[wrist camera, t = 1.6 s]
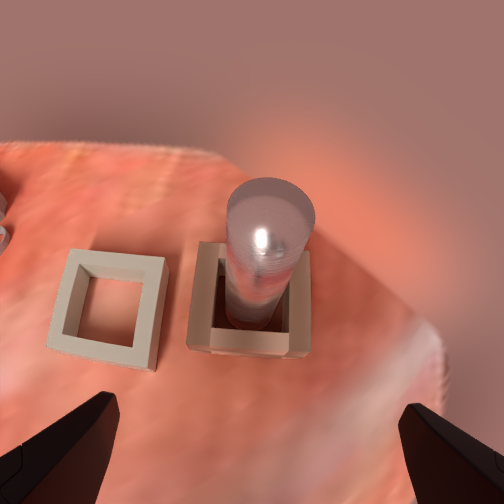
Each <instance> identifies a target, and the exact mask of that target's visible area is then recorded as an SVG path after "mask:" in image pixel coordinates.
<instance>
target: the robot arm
mask: <svg viewBox="0 0 504 504" xmlns="http://www.w3.org/2000/svg"><path fill="white" fill-rule="evenodd" d="M119 418H120V412H119V407H118V403H117V399H116V395H115V394H114V393H110V392H106V391H101V392H99V393H98V394H96V395H95V396H93V397H92V398H91V399H89V400H88V401H86V402H85V403H83V404H82V405H80V406H79V407H77V408H76V409H74V410H73V411H71V412H70V413H68V414H67V415H65V416H64V417H62V418H61V419H59V420H58V421H56V422H55V423H53V424H52V425H50V426H49V427H47V428H45V429H44V430H42V431H41V432H39V433H38V434H36V435H35V436H33V437H32V438H30V439H29V440H27V441H25V442H24V443H22V446H21V445H19V446H17V447H16V448H14V449H13V450H11V451H9V452H8V453H6V454H4V455H3V456H1V457H0V504H95V502H96V499H97V496H98V493H99V490H100V487H101V484H102V482H103V479H104V476H105V473H106V470H107V467H108V464H109V461H110V458H111V454H112V449H113V444H114V440H115V436H116V431H117V427H118V423H119ZM398 429H399V433H400V438H401V443H402V448H403V453H404V458H405V462H406V466H407V469H408V473H409V476H410V479H411V482H412V486H413V489H414V492H415V496H416V499H417V502H418V504H504V456H502V455H501V454H499V453H498V452H496V451H493V449H491V448H489V447H488V446H486V445H485V444H483V443H481V442H480V441H478V440H477V439H475V438H473V437H472V436H470V435H469V434H467V433H466V432H464V431H462V430H461V429H459V428H458V427H456V426H454V425H453V424H451V423H450V422H448V421H447V420H445V419H444V418H442V417H441V416H439V415H438V414H436V413H434V412H433V411H431V410H430V409H428V408H427V407H425V406H424V405H422V404H421V403H412V404H408V405H407V406H406V408H405V410H404V412H403V414H402V416H401V418H400V420H399V423H398Z"/></svg>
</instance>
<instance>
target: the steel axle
mask: <svg viewBox="0 0 504 504" xmlns="http://www.w3.org/2000/svg"><path fill="white" fill-rule="evenodd" d="M314 224H315V212H314V207H313V205H312V203H311V201H310V199H309V198H308V196H307V195H306V194H305V193H304V192H303V191H302V190H301V189H300V188H298V187H297V186H295V185H293V184H291V183H289V182H287V181H284V180H281V179H277V178H257V179H253V180H250V181H248V182H245V183H244V184H242V185H240V186H239V187H238V188H237V189H236V190H235V191H234V192H233V193H232V195H231V197H230V199H229V201H228V205H227V226H226V280H225V312H226V316H227V318H228V320H229V321H230V323H231V324H232V325H233V326H235V327H236V328H238V329H240V330H247V331H256V330H259V329H261V328H263V327H264V326H266V325H267V324H268V322H269V321H270V319H271V317H272V315H273V313H274V311H275V309H276V307H277V305H278V303H279V301H280V299H281V297H282V294H283V292H284V290H285V288H286V286H287V284H288V282H289V280H290V278H291V275H292V273H293V271H294V269H295V267H296V265H297V263H298V261H299V258H300V256H301V254H302V252H303V250H304V247H305V245H306V243H307V241H308V239H309V236H310V234H311V232H312V230H313V228H314Z"/></svg>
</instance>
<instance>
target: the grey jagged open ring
mask: <svg viewBox="0 0 504 504" xmlns="http://www.w3.org/2000/svg"><path fill="white" fill-rule="evenodd" d="M7 205H8V203H7V201H6V199H5V197H4V196H3V195H2V194H1V192H0V222H1V221H2V220H3V219H4V217H5V209H6V207H7Z"/></svg>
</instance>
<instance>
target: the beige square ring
mask: <svg viewBox="0 0 504 504" xmlns="http://www.w3.org/2000/svg"><path fill="white" fill-rule="evenodd" d="M219 275H220V276H226V243H214V242H202V241H199V248H198V255H197V262H196V269H195V276H194V283H193V290H192V298H191V306H190V314H189V322H188V330H187V339H186V344H187V346H188V348H189V349H190V351H191V352H199V353H209V354H220V355H233V356H246V357H263V358H284V359H302V358H303V357H305V356H306V355H307V354H309V353H310V352H311V276H310V251H307V250H303V252H302V254H301V256H300V258H299V261H298V263H297V265H296V267H295V269H294V271H293V273H292V275H291V278H290V280H289V282H288V284H287V286H286V288H285V290H284V292H283V294H282V333H278V332H261V331H247V330H234V329H222V328H214V321H215V311H216V300H217V290H218V281H219Z"/></svg>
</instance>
